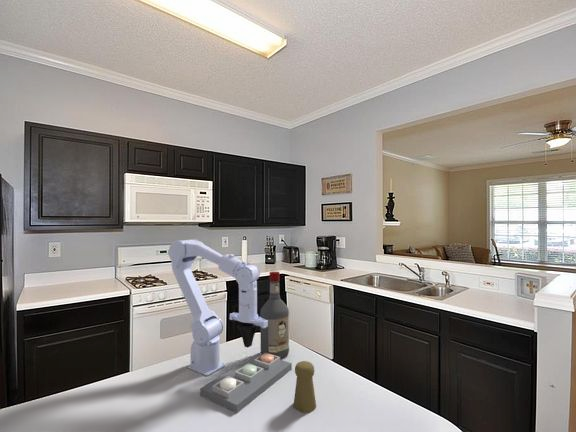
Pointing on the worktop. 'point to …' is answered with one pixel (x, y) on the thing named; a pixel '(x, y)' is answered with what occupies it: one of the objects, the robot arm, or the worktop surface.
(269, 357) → the terracotta button
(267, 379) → the button panel
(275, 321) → the liquor
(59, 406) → the worktop surface
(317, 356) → the worktop surface
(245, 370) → the sage button
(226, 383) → the cream button
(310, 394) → the olive pawn
